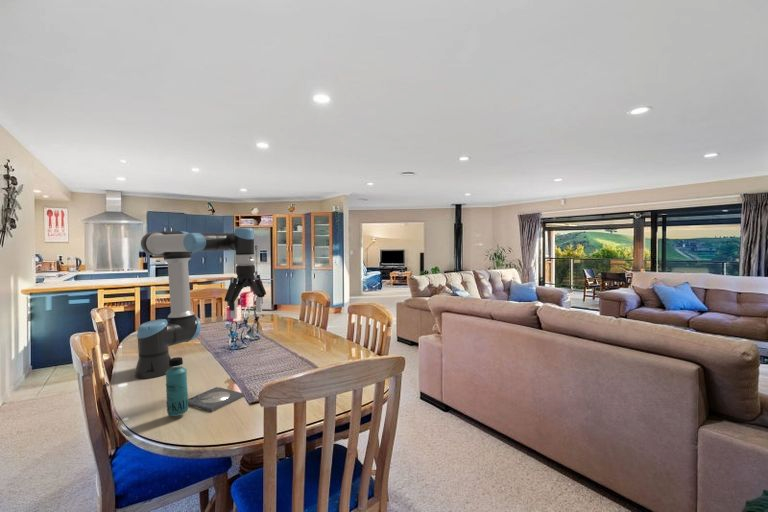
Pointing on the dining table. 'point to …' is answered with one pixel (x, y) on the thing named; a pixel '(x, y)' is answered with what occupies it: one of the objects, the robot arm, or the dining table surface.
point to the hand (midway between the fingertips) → (246, 315)
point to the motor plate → (214, 399)
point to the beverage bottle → (176, 388)
